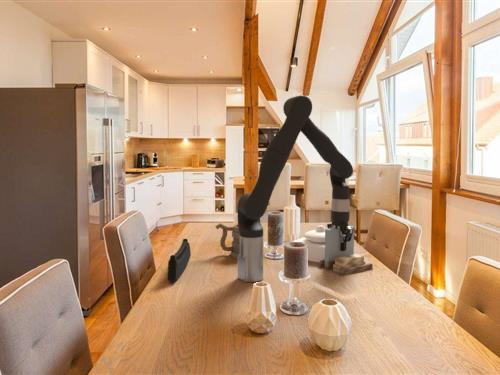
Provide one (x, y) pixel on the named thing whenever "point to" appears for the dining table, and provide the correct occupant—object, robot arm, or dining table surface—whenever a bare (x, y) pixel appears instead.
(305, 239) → the butter dish
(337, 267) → the offcut lower
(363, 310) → the dining table surface
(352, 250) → the grey board
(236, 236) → the tankard
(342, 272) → the walnut rack
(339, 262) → the offcut upper
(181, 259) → the black curved panel
